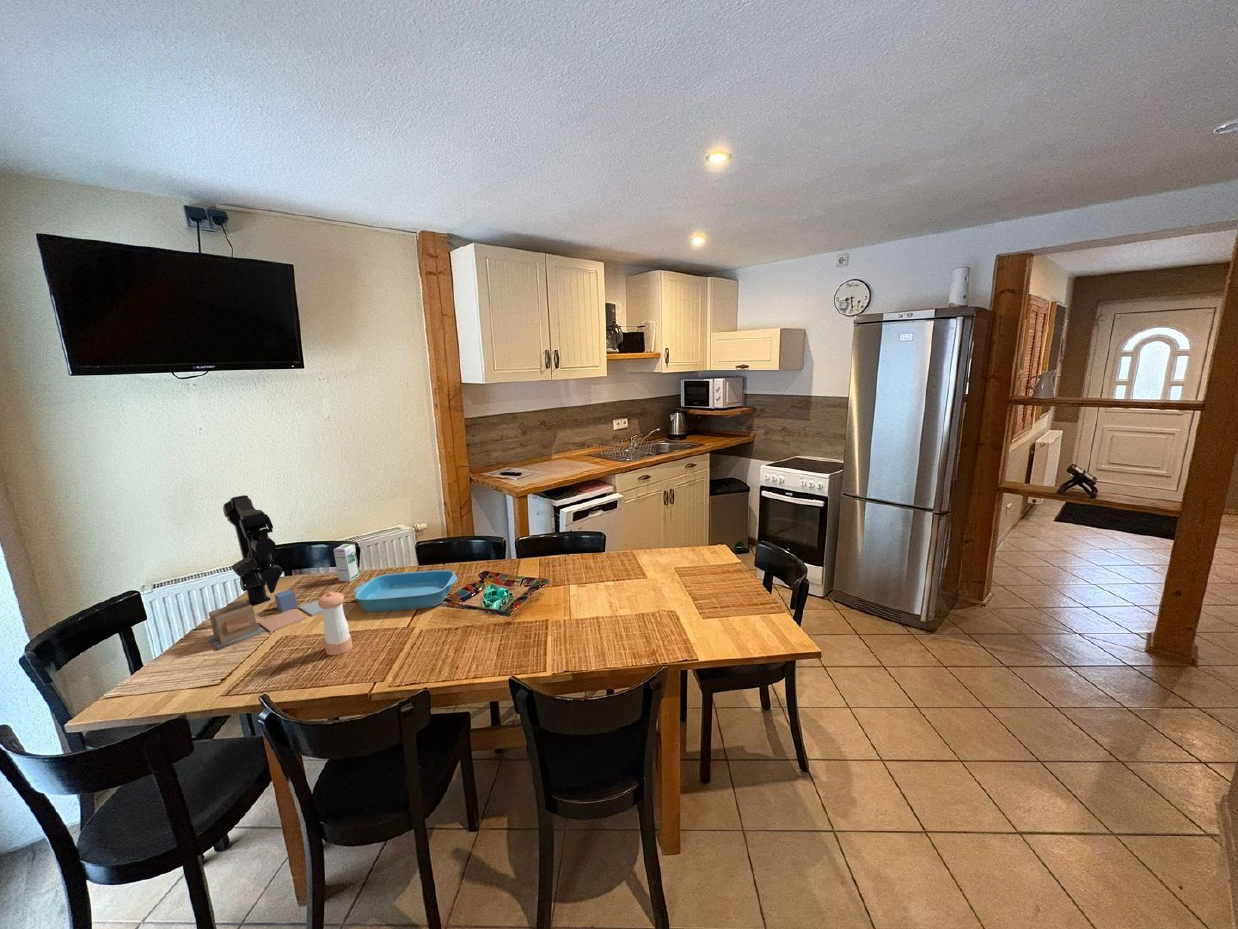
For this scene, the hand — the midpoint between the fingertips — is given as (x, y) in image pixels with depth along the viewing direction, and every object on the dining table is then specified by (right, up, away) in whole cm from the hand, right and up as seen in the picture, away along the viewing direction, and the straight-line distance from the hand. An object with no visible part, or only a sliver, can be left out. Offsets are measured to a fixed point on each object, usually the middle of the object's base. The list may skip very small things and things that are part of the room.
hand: (267, 589), depth 176 cm
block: (+1, -9, +9) cm, 13 cm away
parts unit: (-4, -13, -9) cm, 17 cm away
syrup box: (+11, -4, +34) cm, 36 cm away
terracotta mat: (+6, -11, 0) cm, 13 cm away
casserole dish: (+45, -7, +12) cm, 47 cm away
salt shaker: (+37, -14, -20) cm, 44 cm away
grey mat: (+13, -9, +10) cm, 19 cm away
